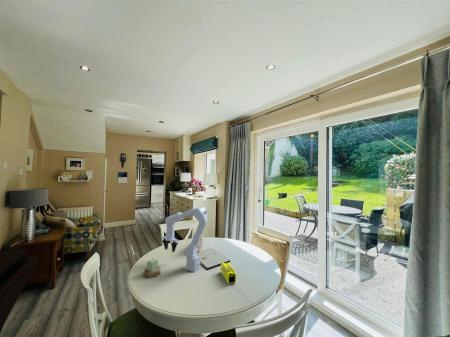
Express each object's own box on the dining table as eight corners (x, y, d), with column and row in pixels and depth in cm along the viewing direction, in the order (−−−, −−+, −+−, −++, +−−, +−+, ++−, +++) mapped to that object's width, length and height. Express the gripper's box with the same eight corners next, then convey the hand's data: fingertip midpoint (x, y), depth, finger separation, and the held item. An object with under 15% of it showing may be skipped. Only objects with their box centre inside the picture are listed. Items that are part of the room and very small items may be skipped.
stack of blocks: (195, 244, 187) (196, 231, 187) (202, 245, 187) (202, 231, 187) (191, 254, 166) (191, 239, 166) (198, 254, 166) (199, 240, 166)
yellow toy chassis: (219, 272, 139) (220, 260, 139) (227, 271, 141) (228, 259, 141) (227, 285, 124) (227, 271, 124) (236, 283, 126) (236, 270, 126)
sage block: (157, 268, 135) (157, 259, 135) (151, 271, 131) (152, 262, 131) (152, 267, 137) (153, 258, 137) (147, 269, 134) (147, 260, 134)
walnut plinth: (163, 272, 136) (163, 268, 136) (150, 279, 127) (151, 274, 127) (153, 268, 141) (153, 264, 141) (140, 274, 133) (141, 270, 133)
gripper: (159, 231, 150) (158, 249, 150) (173, 235, 143) (172, 254, 143) (166, 229, 156) (166, 246, 156) (180, 233, 149) (179, 251, 149)
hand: (169, 250), depth 150 cm, fingers open, 7 cm apart
